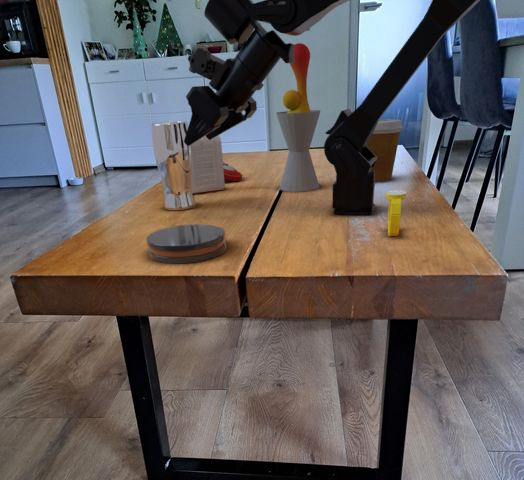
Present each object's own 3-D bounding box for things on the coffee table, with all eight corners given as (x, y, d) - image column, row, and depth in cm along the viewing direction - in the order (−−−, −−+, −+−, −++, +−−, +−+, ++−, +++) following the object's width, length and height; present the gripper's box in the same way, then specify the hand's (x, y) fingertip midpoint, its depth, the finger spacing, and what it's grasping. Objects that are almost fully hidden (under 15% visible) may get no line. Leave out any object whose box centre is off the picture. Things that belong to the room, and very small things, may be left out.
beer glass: (200, 208, 93) (191, 122, 86) (164, 212, 92) (151, 125, 85) (194, 201, 99) (185, 120, 92) (160, 205, 98) (148, 123, 91)
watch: (382, 228, 75) (385, 188, 72) (401, 228, 74) (404, 187, 71) (383, 239, 70) (386, 196, 67) (403, 239, 69) (407, 196, 66)
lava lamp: (309, 182, 112) (308, -6, 95) (327, 188, 104) (329, -14, 87) (272, 186, 109) (264, -5, 92) (288, 193, 102) (283, -14, 85)
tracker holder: (251, 174, 118) (214, 169, 112) (246, 192, 120) (210, 188, 115) (228, 158, 126) (193, 152, 120) (224, 175, 128) (189, 170, 122)
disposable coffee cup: (353, 177, 114) (354, 120, 109) (394, 175, 114) (398, 118, 108) (358, 184, 106) (361, 124, 100) (402, 182, 106) (407, 121, 100)
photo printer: (220, 187, 112) (215, 128, 106) (228, 189, 109) (223, 129, 103) (178, 193, 108) (170, 132, 102) (184, 196, 105) (176, 133, 99)
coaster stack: (236, 240, 73) (235, 224, 72) (210, 264, 64) (208, 247, 63) (169, 239, 76) (166, 223, 75) (135, 262, 66) (131, 244, 65)
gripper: (236, 32, 86) (187, 104, 95) (190, 23, 71) (137, 110, 80) (280, 80, 88) (228, 147, 96) (244, 82, 72) (187, 161, 81)
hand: (197, 140), depth 88 cm, fingers open, 9 cm apart
